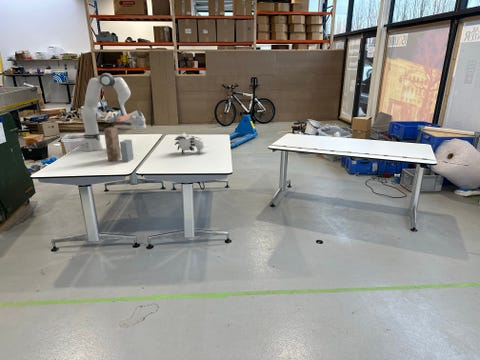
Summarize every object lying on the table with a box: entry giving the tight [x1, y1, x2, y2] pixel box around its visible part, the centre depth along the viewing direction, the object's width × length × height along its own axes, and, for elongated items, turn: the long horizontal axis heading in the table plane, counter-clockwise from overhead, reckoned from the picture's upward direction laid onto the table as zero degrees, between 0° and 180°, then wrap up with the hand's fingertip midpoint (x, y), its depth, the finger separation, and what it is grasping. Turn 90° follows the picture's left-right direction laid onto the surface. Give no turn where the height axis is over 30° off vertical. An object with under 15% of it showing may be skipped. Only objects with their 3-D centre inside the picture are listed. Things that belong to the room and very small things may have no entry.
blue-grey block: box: [119, 139, 135, 163], centre depth 268 cm, size 5×10×16 cm, turn 173°
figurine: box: [174, 132, 210, 155], centre depth 292 cm, size 17×16×30 cm
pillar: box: [103, 126, 122, 162], centre depth 268 cm, size 6×10×26 cm, turn 172°
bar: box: [116, 113, 132, 123], centre depth 277 cm, size 3×22×3 cm, turn 173°
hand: (129, 115), depth 285 cm, fingers closed on bar, 3 cm apart
